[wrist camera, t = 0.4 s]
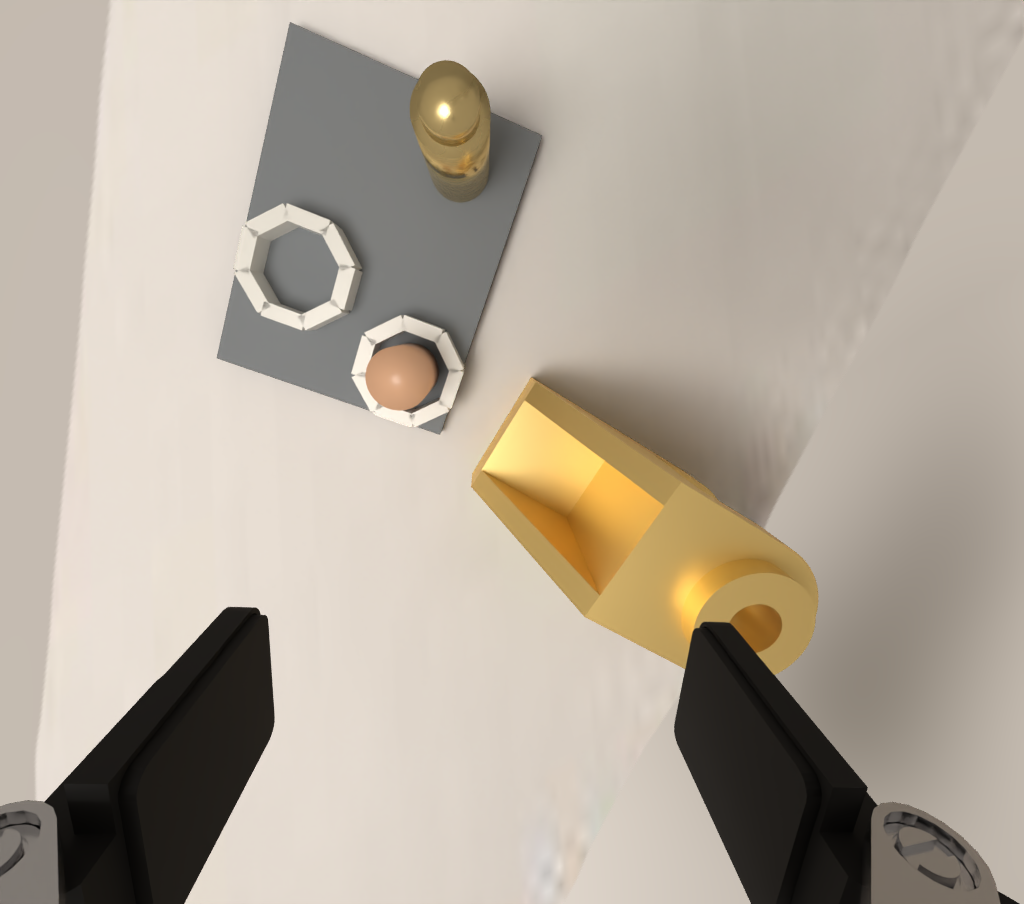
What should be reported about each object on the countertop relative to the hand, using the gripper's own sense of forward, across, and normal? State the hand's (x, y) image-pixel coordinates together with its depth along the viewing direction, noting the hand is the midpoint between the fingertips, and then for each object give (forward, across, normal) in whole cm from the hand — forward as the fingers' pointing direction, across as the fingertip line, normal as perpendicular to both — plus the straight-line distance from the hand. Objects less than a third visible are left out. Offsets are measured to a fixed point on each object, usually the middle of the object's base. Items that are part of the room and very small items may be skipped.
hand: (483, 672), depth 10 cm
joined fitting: (+27, +6, -4) cm, 28 cm away
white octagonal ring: (+27, +13, -10) cm, 32 cm away
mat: (+29, +8, -12) cm, 32 cm away
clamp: (+29, -10, +5) cm, 31 cm away
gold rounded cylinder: (+27, +3, -18) cm, 33 cm away
